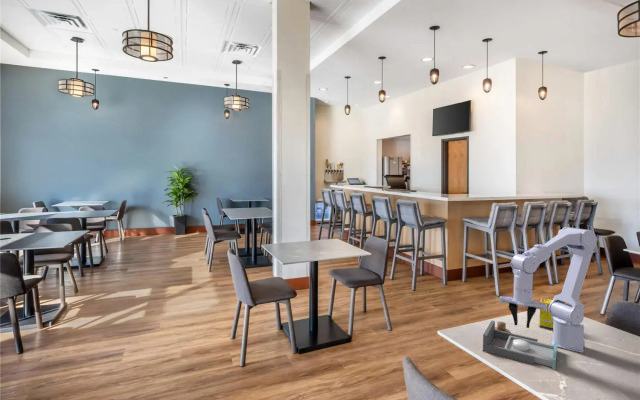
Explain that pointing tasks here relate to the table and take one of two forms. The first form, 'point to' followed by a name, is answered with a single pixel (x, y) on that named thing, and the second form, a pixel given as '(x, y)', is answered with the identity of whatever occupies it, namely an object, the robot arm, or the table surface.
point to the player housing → (515, 355)
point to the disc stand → (501, 327)
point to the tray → (537, 351)
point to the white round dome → (521, 345)
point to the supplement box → (546, 316)
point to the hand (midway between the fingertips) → (521, 325)
